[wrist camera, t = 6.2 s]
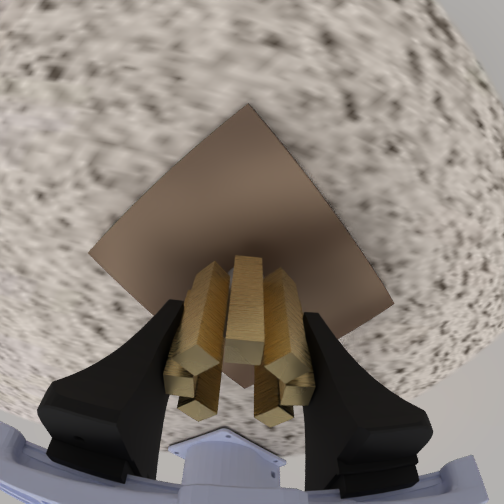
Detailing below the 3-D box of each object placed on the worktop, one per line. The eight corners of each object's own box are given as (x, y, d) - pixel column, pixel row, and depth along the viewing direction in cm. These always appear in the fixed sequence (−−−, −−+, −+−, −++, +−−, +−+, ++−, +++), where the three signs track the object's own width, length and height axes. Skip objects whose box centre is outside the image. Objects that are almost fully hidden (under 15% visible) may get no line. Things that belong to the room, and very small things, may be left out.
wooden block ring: (308, 262, 13) (330, 345, 9) (290, 343, 16) (298, 428, 11) (188, 250, 13) (158, 330, 9) (188, 334, 15) (169, 417, 11)
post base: (386, 289, 18) (416, 345, 14) (245, 372, 22) (242, 431, 17) (248, 103, 14) (244, 106, 9) (98, 240, 17) (56, 289, 13)
